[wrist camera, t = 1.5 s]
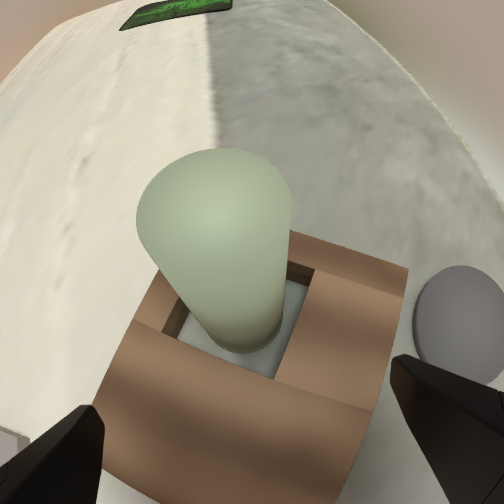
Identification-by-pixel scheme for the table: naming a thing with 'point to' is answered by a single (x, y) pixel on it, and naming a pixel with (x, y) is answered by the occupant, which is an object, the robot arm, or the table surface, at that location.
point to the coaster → (461, 324)
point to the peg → (222, 242)
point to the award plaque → (11, 444)
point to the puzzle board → (254, 391)
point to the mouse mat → (173, 11)
